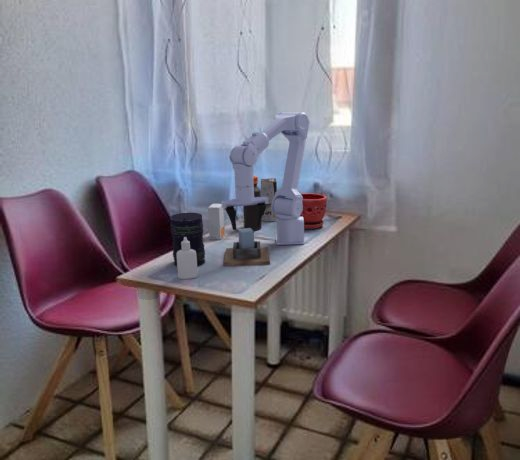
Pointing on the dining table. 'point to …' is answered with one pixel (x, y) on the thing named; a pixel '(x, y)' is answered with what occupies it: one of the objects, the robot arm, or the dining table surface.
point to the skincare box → (216, 221)
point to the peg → (246, 238)
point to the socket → (247, 255)
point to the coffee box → (268, 191)
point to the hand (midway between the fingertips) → (246, 228)
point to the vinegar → (252, 210)
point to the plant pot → (313, 210)
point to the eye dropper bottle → (186, 261)
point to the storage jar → (188, 234)
